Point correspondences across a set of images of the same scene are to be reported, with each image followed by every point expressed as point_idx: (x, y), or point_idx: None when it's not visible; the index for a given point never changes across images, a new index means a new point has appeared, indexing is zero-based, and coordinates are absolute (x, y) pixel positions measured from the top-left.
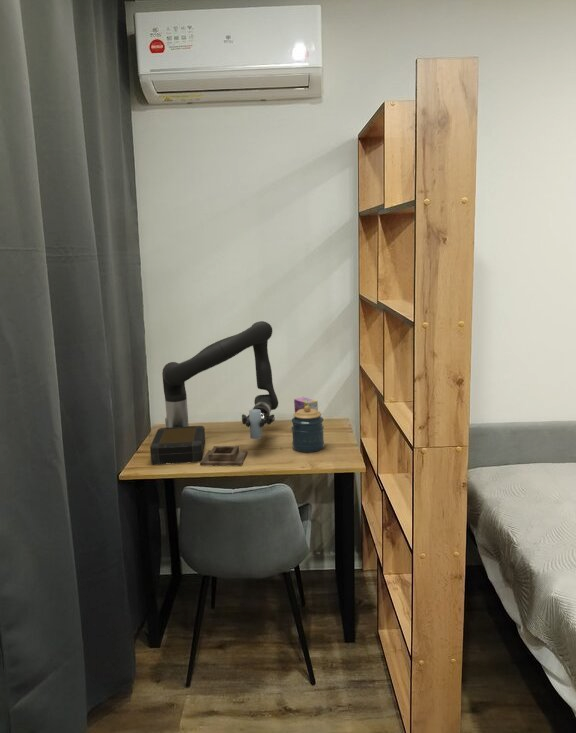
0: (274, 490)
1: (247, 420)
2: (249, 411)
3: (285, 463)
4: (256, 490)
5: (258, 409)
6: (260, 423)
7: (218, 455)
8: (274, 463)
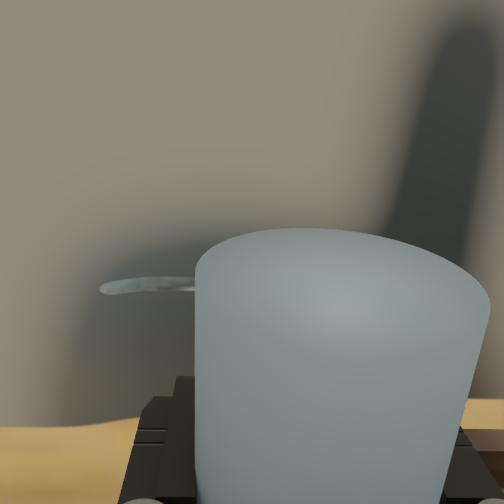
0: (128, 279)
1: (491, 499)
2: (430, 254)
3: (4, 491)
4: (189, 281)
5: (277, 328)
6: None
7: (495, 433)
8: (88, 490)
